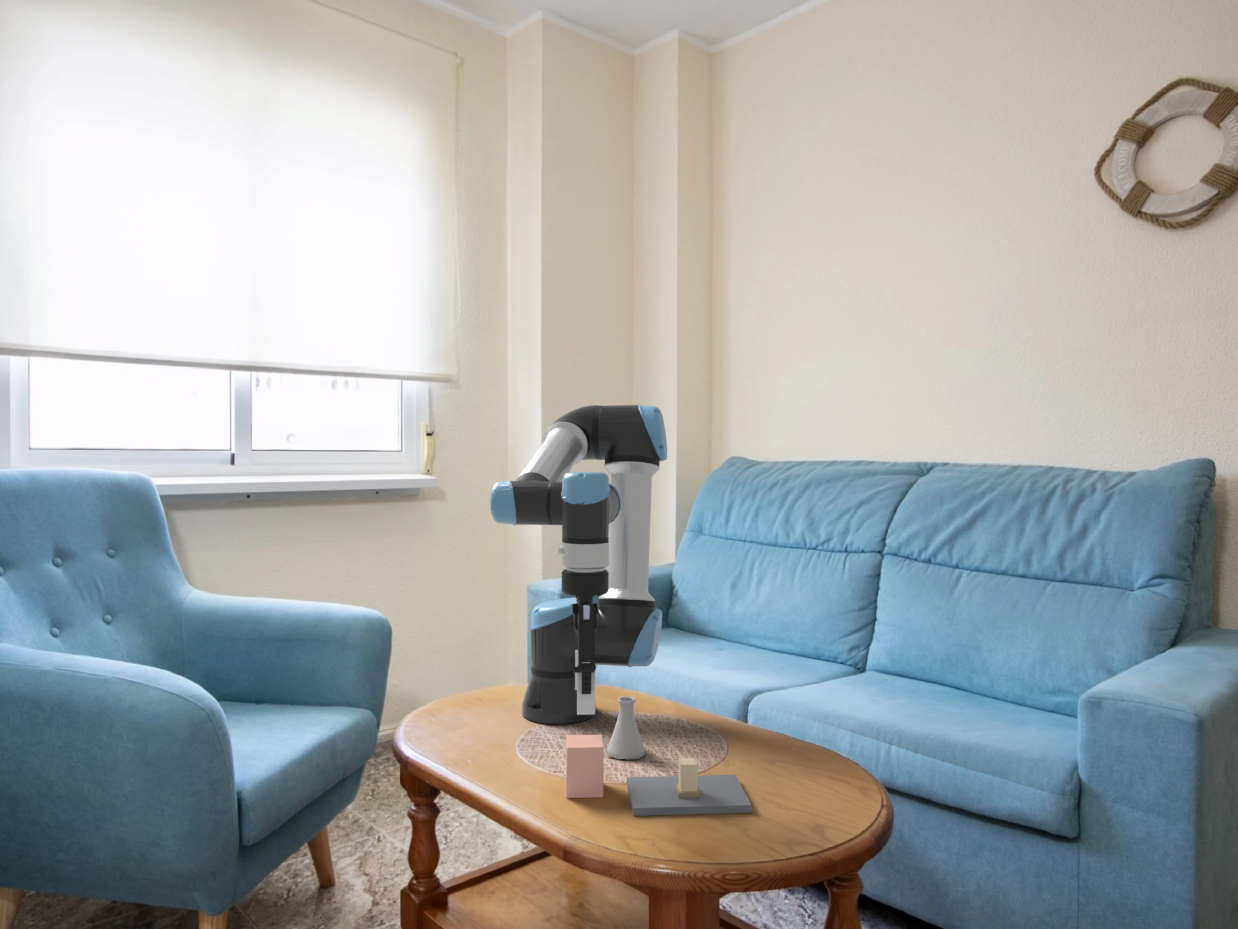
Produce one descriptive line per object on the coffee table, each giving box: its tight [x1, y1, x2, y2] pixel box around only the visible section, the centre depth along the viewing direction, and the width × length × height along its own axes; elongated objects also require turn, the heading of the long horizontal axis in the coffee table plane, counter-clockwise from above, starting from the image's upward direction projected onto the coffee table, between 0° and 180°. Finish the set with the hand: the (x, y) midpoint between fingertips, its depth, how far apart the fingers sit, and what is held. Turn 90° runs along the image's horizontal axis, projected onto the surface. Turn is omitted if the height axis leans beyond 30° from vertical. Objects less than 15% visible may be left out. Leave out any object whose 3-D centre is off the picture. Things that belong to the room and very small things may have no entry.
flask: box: [606, 696, 647, 760], centre depth 157 cm, size 7×7×10 cm
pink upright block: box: [565, 734, 605, 799], centre depth 140 cm, size 6×6×8 cm
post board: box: [626, 757, 753, 817], centre depth 137 cm, size 12×18×6 cm, turn 94°
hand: (584, 701), depth 140 cm, fingers open, 13 cm apart
